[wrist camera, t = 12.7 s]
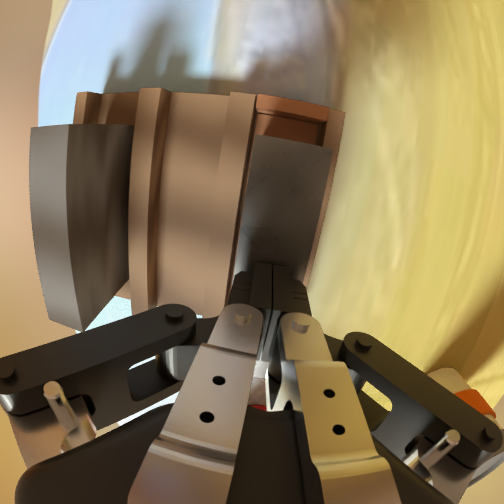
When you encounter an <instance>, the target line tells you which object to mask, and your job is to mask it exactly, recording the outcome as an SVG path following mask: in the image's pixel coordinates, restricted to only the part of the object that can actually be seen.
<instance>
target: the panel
mask: <svg viewBox="0 0 504 504" xmlns="http://www.w3.org/2000/svg"><path fill="white" fill-rule="evenodd" d="M332 154H333V149H330V148H326V147H321V146H317V145H312V144H307V143H303V142H298V141H293V140H287V139H282V138H276V137H270V136H264V135H258V134H255V138H254V144H253V151H252V157H251V163H250V169H249V176H248V182H247V188H246V195H245V201H244V208H243V214H242V221H241V228H240V234H239V241H238V248H237V255H236V261H235V268H234V275H233V280H234V276H235V275H236V274H237V273H239V272H240V271H245V272H251V273H253V271H254V265H255V262H259V263H265V264H271V265H272V266H273V265H277V266H283V267H289V268H290V274H291V279H294V280H300V281H301V282H302V283H303V281H304V277H305V273H306V269H307V265H308V261H309V257H310V254H311V249H312V245H313V241H314V237H315V233H316V229H317V225H318V220H319V216H320V211H321V207H322V203H323V198H324V193H325V189H326V184H327V179H328V174H329V169H330V164H331V159H332ZM232 284H233V282H232ZM267 368H268V362H265V361H261V356H260V360H259V361H257V360H256V364H255V369H254V374H253V377H256V378H263V379H265V375H266V372H267Z"/></svg>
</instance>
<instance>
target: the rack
mask: <svg viewBox="0 0 504 504" xmlns="http://www.w3.org/2000/svg"><path fill="white" fill-rule="evenodd" d="M344 118H345V112H341V111H337V110H333V109H329V107H325V106H321V105H317V104H312V103H307V102H302V101H298V100H292V99H287V98H281V97H275V96H269V95H263V94H258V96H257V97H256V95H255V94H248V93H240V92H230V96H226V95H215V94H201V93H182V92H170V91H168V90H165V89H163V88H140V92H127V93H108V94H99V93H93V92H79V93H77V97H76V104H75V111H74V120H73V124H65V125H53V126H42V127H33V128H31V135H30V155H29V157H30V158H29V187H30V208H31V220H32V231H33V239H34V247H35V254H36V260H37V266H38V271H39V277H40V282H41V287H42V291H43V296H44V299H45V304H46V308H47V312H48V316H49V319H50V320H52V321H54V322H57V323H60V324H62V325H65V326H67V327H70V328H73V329H75V330H78V331H81V332H84V331H85V330H86V328H87V327H88V326H89V325H90V324H91V322H92V321H93V320H94V319H95V318H96V317H97V315H98V314H99V313H100V312H101V311H102V309H103V308H104V307H105V306H106V305H107V304H108V303H109V301H110V300H111V299H112V298H113V297H114V296H118V297H122V298H126V299H130V300H131V308H132V315H135V314H138V313H141V312H144V311H147V310H150V309H153V308H156V307H157V306H161V305H165V304H181V305H185V306H187V307H189V308H191V309H192V310H193V311H194V312H195V313H196V314H197V315H203V318H212V317H216V316H218V315H220V313H221V310H222V309H223V308H224V307H225V306H227V303H228V299H229V295H230V291H231V288H232V282H233V275H234V268H235V261H236V255H237V248H238V241H239V234H240V228H241V221H242V214H243V208H244V201H245V195H246V188H247V182H248V176H249V169H250V163H251V157H252V151H253V144H254V138H255V134H258V135H264V136H270V137H276V138H282V139H287V140H293V141H298V142H303V143H307V144H312V145H317V146H321V147H326V148H330V149H333V154H332V159H331V164H330V169H329V174H328V179H327V184H326V189H325V193H324V198H323V203H322V207H321V211H320V216H319V220H318V225H317V229H316V233H315V237H314V241H313V245H312V249H311V254H310V257H309V261H308V265H307V269H306V273H305V277H304V281H303V284H304V286H305V287H306V288H307V284H308V280H309V277H310V273H311V269H312V265H313V262H314V258H315V254H316V250H317V246H318V242H319V238H320V234H321V230H322V226H323V221H324V217H325V213H326V209H327V204H328V200H329V195H330V191H331V186H332V181H333V177H334V172H335V167H336V162H337V157H338V152H339V146H340V141H341V136H342V130H343V124H344Z"/></svg>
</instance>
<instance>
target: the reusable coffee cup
mask: <svg viewBox="0 0 504 504" xmlns="http://www.w3.org/2000/svg"><path fill="white" fill-rule="evenodd" d="M427 375H428V376H429V377H431V378H432V379H433V380H435V381H436V382H438V383H439V384H441V385H442V386H443V387H445V388H446V389H448V390H449V391H450V392H452V393H453V394H455V395H456V396H458V397H459V398H460V399H462V400H463V401H465V402H466V403H467V404H469V405H470V406H472V407H473V408H475V409H476V410H477V411H479V412H480V413H482V414H483V415H484V416H486V417H487V418H489V419H490V420H491V421H493V422H494V423H495V424H496V425H497V426H498V427H499V428H500V430H501V432H502V436H503V443H502V446H501V448H500V449H499V450H498V451H497V452H496V453H495V454H494V455H493V456H492V457H490V458H489V459H488V460H487V461H486V462H485V463H484V464H482V465H481V466H480V467H479V468H478V469H476V471H475V473H474V475H473V477H472V479H471V481H470V483H469V485H468V487H470V486H471V485H473V484H475V483H476V482H478V481H479V480H481V479H482V478H484V477H485V476H487V475H488V474H489V473H491V472H492V471H493V470H494V469H496V468H497V467H498V466H499V465H500V464H502V463H503V462H504V429H502V428H501V426H500V425H499V424H498V422H497V421H496V420H495V418H496V414H495V412H494V411H493V410H492V408H491V407H490V406H489V405H488V403H487V402H486V401H485V400H484V398H483V397H482V396H481V395H480V393H479V392H478V391H477V390H474V389H471V388H470V386H469V385H468V384H467V383H466V381H465V380H464V379H463V378H462V377H461V375H460V374H459V373H458V372H457V371H456V370H455V369H453V368H448V367H446V368H441V369H438V370H435V371H433V372H430V373H428V374H427ZM468 487H467V488H468Z"/></svg>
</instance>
